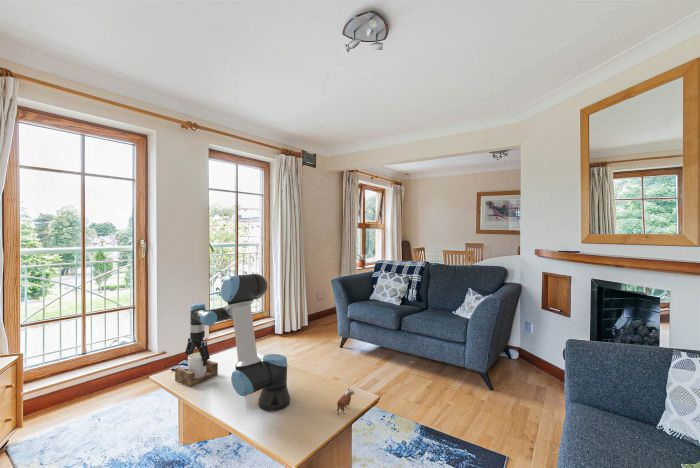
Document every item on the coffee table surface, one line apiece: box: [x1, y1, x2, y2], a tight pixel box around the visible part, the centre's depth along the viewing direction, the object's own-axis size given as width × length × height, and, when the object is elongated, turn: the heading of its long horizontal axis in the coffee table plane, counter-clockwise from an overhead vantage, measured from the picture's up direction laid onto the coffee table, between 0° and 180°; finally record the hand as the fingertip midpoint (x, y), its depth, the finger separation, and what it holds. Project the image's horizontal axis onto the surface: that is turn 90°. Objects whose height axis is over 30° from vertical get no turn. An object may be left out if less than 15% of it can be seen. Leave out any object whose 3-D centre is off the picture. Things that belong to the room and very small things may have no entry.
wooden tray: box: [174, 359, 219, 388], centre depth 182 cm, size 14×17×7 cm
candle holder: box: [187, 351, 205, 380], centre depth 182 cm, size 10×10×12 cm
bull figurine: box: [336, 388, 356, 414], centre depth 153 cm, size 4×13×8 cm, turn 149°
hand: (196, 369), depth 182 cm, fingers open, 11 cm apart
